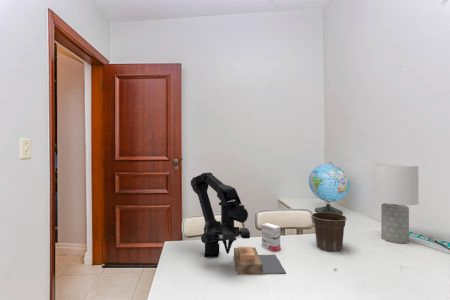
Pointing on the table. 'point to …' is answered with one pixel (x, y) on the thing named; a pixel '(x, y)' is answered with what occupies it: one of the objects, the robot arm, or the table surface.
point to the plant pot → (329, 230)
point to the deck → (248, 264)
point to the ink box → (271, 237)
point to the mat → (271, 265)
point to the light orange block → (246, 253)
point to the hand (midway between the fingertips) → (227, 253)
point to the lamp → (395, 198)
